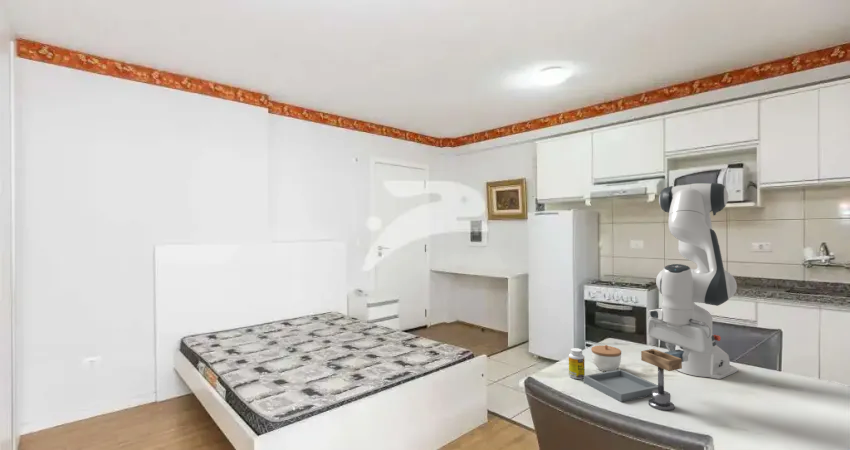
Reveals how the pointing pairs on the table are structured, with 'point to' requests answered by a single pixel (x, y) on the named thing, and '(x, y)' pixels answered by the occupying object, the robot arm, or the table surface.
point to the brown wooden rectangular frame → (663, 359)
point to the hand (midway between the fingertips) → (678, 358)
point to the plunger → (661, 395)
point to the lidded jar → (606, 357)
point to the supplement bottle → (576, 364)
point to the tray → (620, 385)
